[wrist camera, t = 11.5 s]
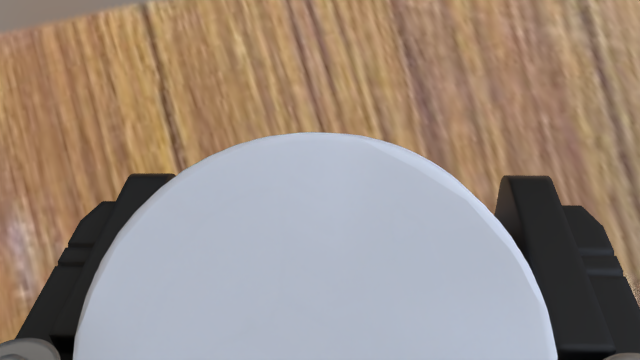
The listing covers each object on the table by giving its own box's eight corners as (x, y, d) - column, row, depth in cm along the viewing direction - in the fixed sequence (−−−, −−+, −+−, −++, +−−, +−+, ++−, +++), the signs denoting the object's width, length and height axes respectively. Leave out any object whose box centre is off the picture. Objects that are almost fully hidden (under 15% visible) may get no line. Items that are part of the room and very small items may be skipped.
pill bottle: (203, 230, 16) (-59, 197, 6) (403, 148, 16) (466, -21, 6) (282, 444, 15) (127, 801, 5) (494, 360, 15) (737, 566, 5)
